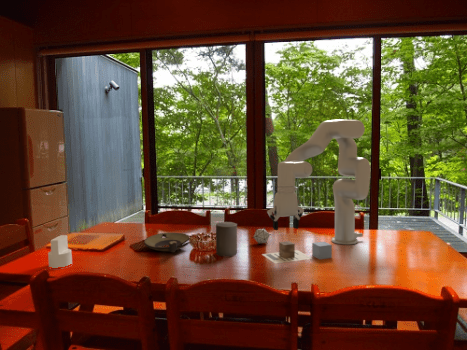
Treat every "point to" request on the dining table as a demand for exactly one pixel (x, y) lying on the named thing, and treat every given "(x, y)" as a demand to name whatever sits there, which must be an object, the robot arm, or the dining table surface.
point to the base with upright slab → (59, 252)
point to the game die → (261, 236)
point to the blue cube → (322, 250)
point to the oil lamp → (167, 241)
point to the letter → (278, 259)
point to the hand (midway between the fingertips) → (285, 229)
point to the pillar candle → (226, 239)
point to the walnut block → (286, 249)
